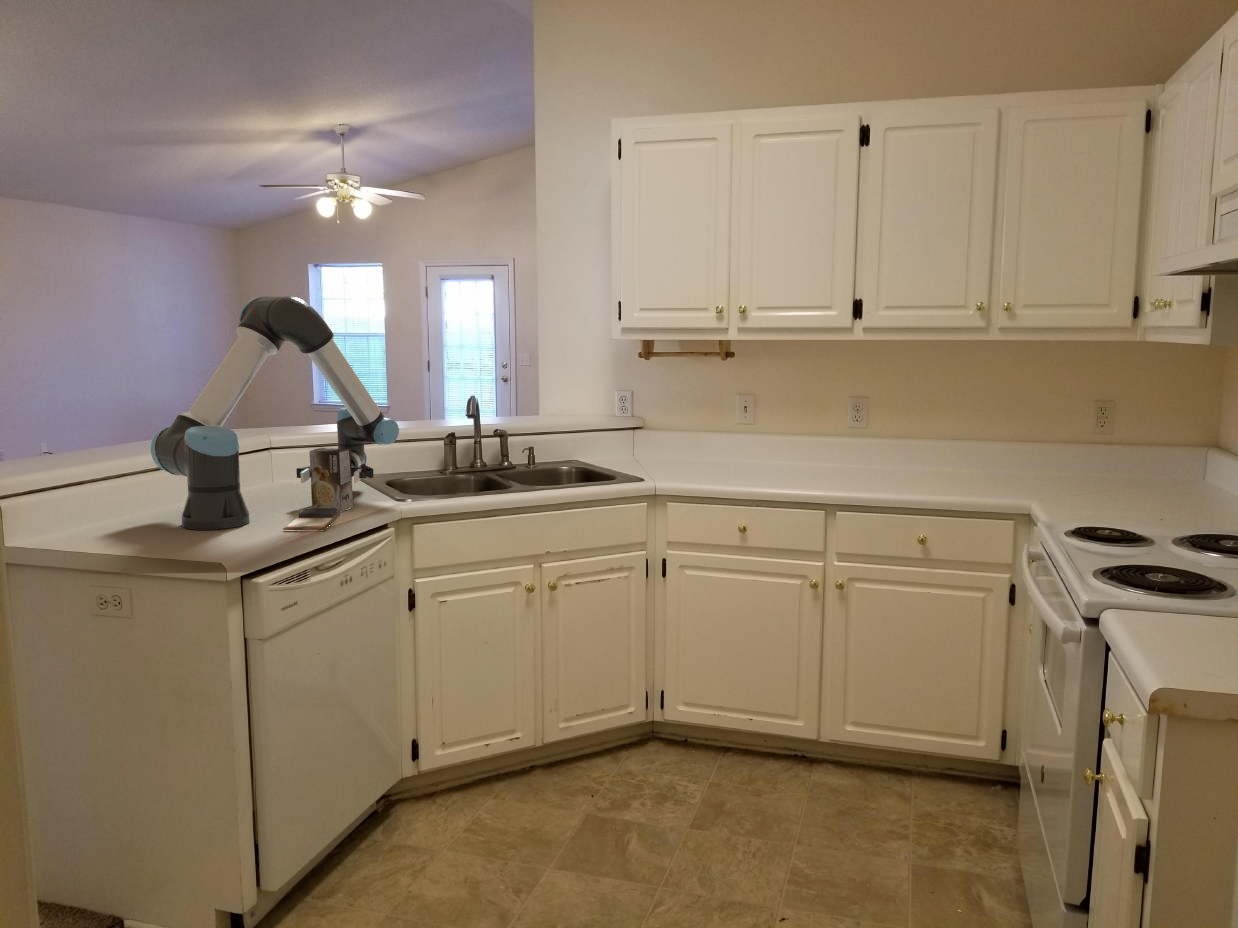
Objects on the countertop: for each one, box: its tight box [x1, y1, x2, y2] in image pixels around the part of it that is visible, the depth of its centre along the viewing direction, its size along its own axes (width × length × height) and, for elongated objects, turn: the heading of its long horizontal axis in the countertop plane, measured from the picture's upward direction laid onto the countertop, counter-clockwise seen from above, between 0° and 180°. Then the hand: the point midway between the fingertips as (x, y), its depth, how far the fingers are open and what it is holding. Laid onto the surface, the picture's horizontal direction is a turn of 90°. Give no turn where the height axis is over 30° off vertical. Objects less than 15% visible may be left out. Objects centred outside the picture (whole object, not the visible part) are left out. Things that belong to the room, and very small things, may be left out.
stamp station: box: [282, 507, 342, 531], centre depth 222 cm, size 10×18×2 cm, turn 6°
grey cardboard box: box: [309, 447, 354, 512], centre depth 239 cm, size 9×6×16 cm
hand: (328, 477), depth 235 cm, fingers open, 13 cm apart
